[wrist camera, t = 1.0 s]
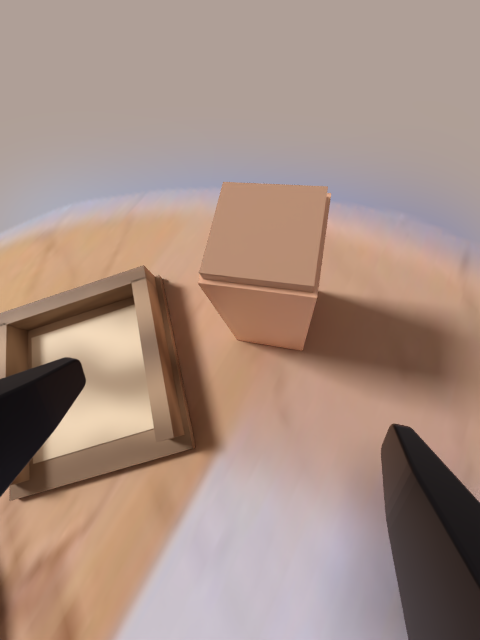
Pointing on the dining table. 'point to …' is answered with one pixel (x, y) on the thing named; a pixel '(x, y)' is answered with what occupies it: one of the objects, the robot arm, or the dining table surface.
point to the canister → (266, 260)
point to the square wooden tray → (102, 377)
